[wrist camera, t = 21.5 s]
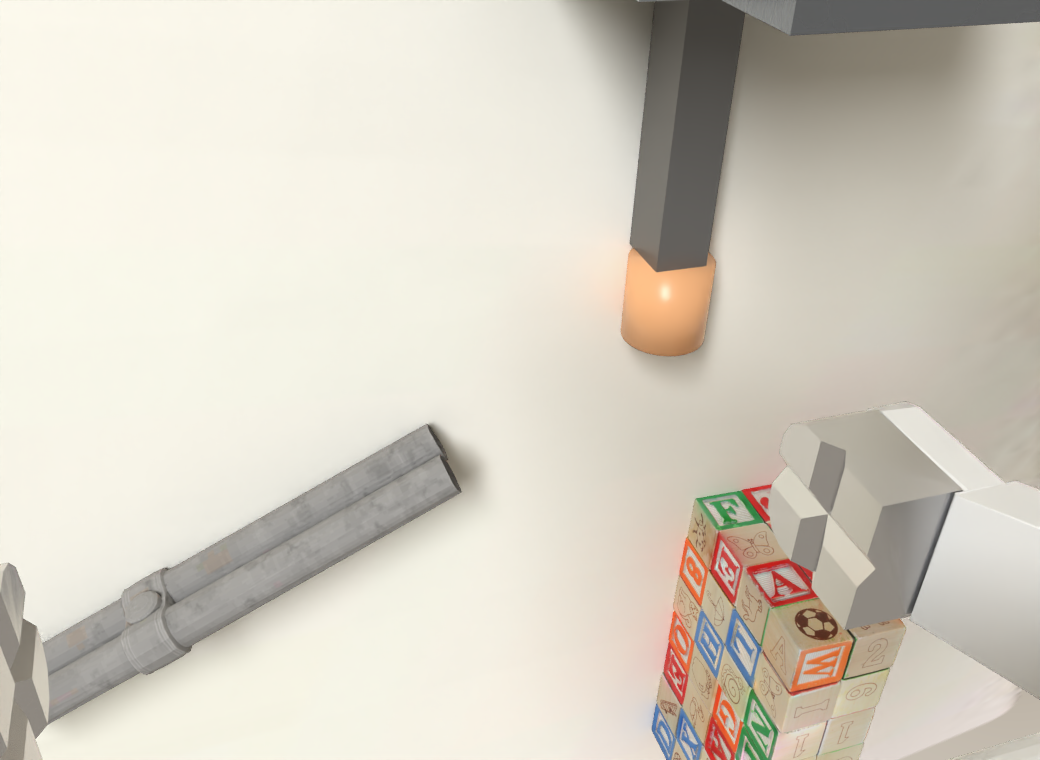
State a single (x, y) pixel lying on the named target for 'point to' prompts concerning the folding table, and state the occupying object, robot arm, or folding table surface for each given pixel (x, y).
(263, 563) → the metal rod assembly
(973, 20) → the grey notched block
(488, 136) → the folding table surface
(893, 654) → the stack of blocks
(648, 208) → the plug
